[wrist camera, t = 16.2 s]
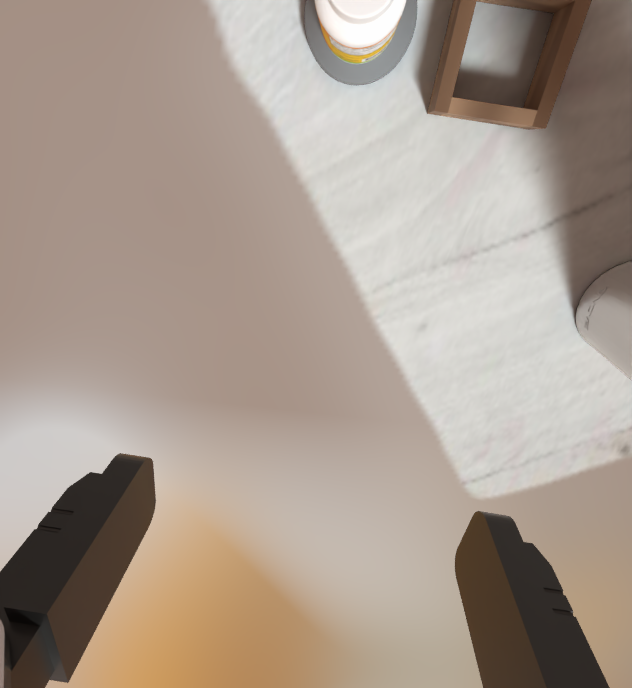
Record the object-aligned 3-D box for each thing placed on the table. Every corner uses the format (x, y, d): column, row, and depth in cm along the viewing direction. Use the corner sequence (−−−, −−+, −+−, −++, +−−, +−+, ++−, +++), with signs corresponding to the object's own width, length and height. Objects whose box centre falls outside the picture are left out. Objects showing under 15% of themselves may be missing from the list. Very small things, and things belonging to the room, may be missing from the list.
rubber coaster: (427, -43, 27) (430, -49, 27) (400, 92, 31) (402, 91, 30) (313, -61, 27) (312, -68, 27) (299, 76, 31) (298, 74, 30)
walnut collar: (574, -3, 28) (598, -18, 25) (529, 129, 32) (545, 128, 29) (458, -21, 28) (469, -38, 25) (427, 113, 32) (434, 111, 29)
